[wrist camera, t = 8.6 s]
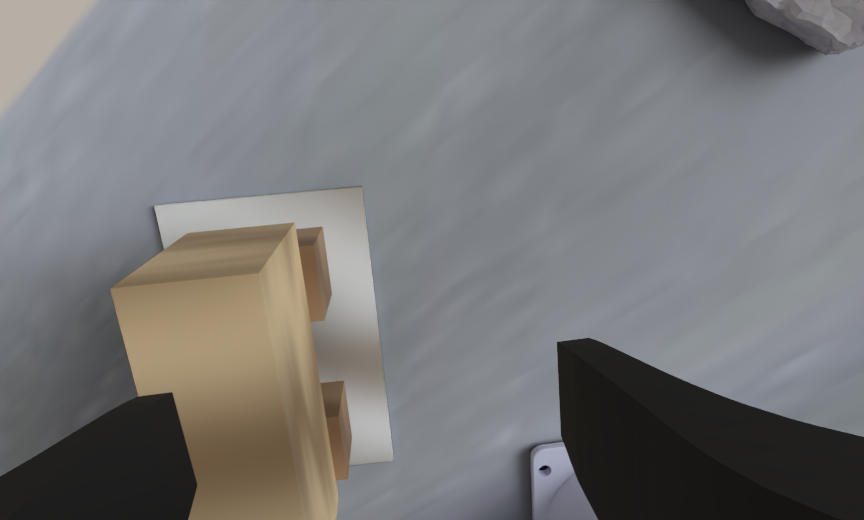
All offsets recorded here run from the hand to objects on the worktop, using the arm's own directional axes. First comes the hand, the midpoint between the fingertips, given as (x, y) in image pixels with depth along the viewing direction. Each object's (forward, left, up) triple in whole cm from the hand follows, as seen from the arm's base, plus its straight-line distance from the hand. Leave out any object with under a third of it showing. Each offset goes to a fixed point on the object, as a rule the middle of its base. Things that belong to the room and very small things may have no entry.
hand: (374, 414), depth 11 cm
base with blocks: (-3, +4, -10) cm, 11 cm away
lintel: (-3, +4, -8) cm, 9 cm away
